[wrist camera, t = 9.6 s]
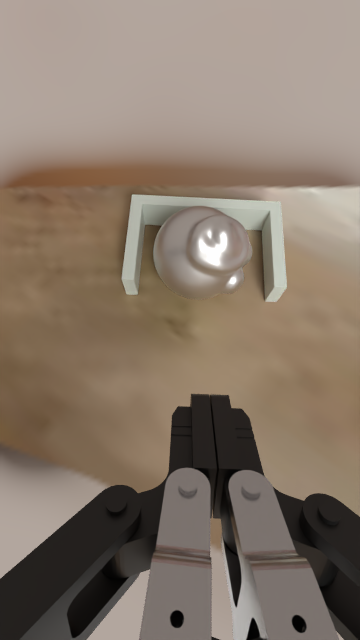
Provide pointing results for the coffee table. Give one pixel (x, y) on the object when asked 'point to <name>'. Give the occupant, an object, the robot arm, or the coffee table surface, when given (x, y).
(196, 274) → the ghost figurine
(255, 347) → the coffee table surface
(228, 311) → the coffee table surface
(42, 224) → the coffee table surface
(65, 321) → the coffee table surface
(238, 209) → the grey u-shaped frame
